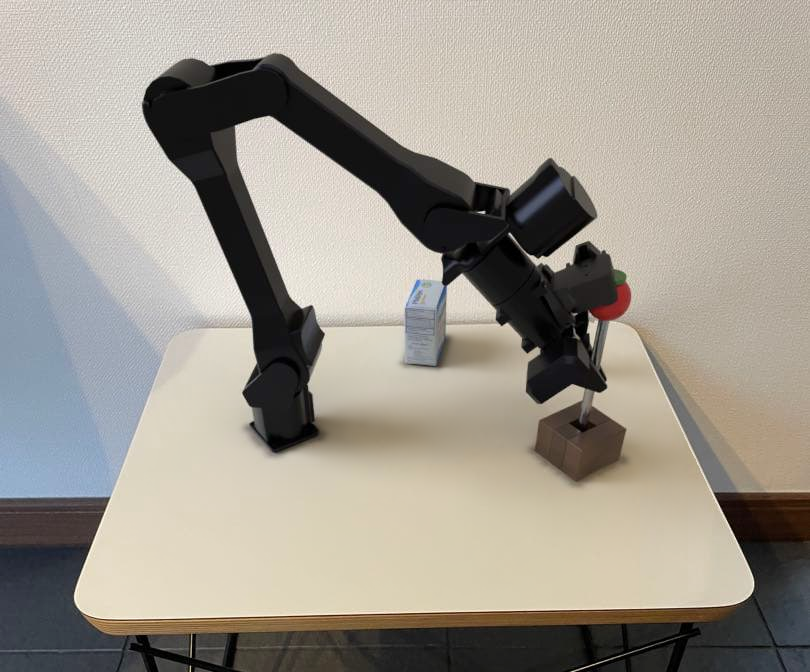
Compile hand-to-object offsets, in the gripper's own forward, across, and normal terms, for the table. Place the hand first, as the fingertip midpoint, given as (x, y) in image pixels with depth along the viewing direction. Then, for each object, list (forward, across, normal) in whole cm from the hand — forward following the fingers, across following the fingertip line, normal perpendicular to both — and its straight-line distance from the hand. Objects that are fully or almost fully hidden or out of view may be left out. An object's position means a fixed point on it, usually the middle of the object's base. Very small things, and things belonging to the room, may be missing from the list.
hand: (603, 386), depth 83 cm
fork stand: (+6, 0, +8) cm, 10 cm away
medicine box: (-8, +20, +23) cm, 32 cm away
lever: (+4, 0, +6) cm, 7 cm away
